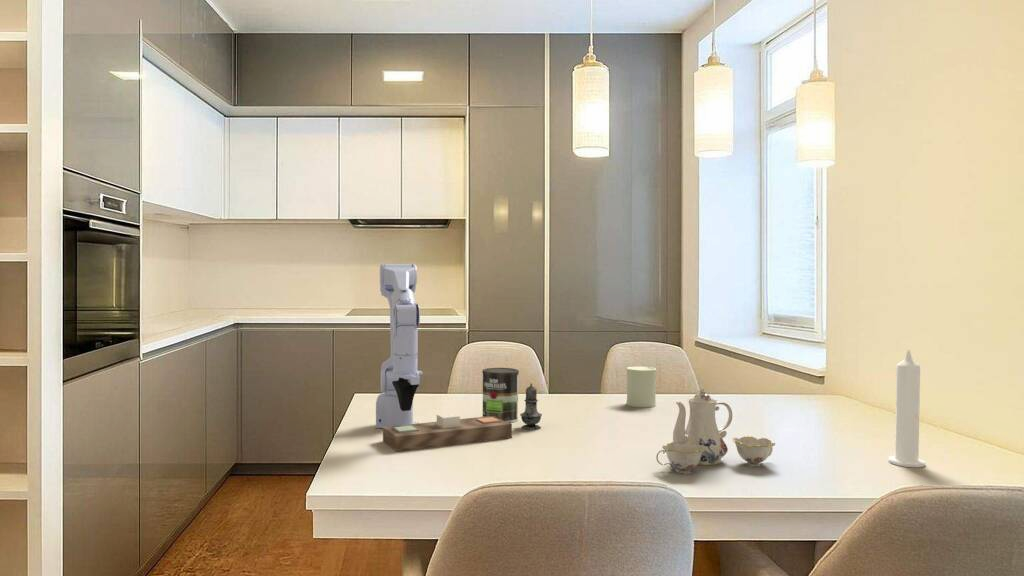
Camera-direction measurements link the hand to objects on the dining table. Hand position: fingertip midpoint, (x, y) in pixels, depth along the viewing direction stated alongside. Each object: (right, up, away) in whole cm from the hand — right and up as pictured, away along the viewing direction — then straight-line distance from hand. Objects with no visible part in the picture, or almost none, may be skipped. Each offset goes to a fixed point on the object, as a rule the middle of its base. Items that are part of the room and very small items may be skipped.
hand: (405, 410), depth 167 cm
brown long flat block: (+10, -8, +5) cm, 14 cm away
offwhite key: (+10, -5, +5) cm, 12 cm away
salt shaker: (+31, -8, +18) cm, 37 cm away
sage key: (0, -8, 0) cm, 8 cm away
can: (+66, -8, +51) cm, 84 cm away
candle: (+113, -9, -15) cm, 114 cm away
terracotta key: (+20, -7, +10) cm, 23 cm away
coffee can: (+22, -8, +28) cm, 37 cm away
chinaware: (+69, -9, -15) cm, 71 cm away
